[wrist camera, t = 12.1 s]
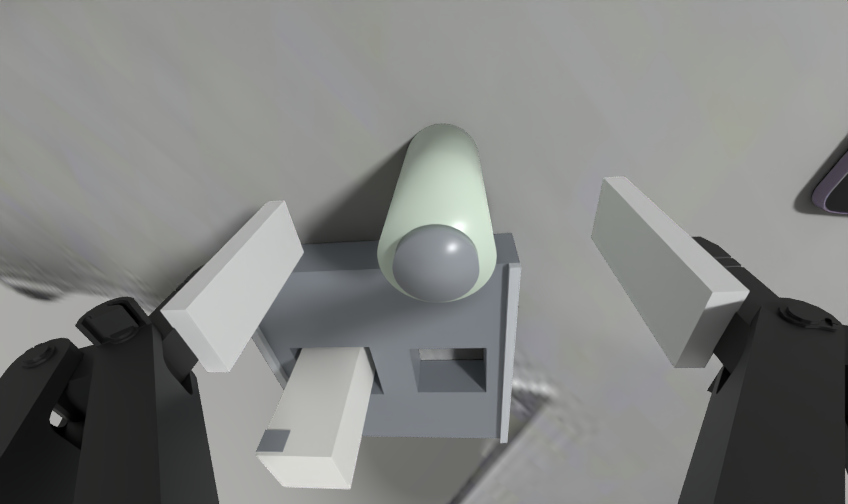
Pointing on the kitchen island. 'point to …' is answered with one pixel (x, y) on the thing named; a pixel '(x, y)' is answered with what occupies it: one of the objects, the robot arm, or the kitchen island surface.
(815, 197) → the smartphone
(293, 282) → the grey socket board
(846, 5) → the kitchen island surface
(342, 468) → the block
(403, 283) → the peg
